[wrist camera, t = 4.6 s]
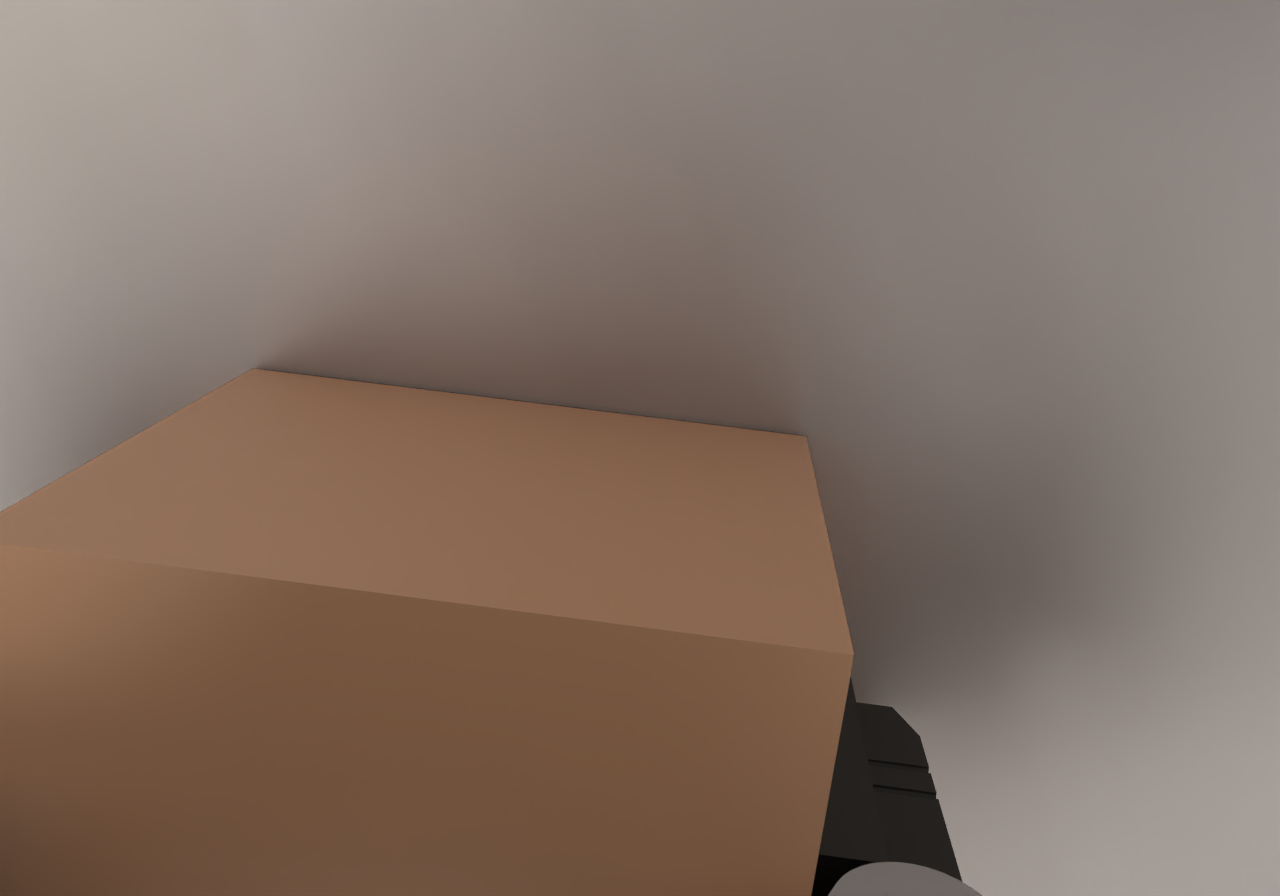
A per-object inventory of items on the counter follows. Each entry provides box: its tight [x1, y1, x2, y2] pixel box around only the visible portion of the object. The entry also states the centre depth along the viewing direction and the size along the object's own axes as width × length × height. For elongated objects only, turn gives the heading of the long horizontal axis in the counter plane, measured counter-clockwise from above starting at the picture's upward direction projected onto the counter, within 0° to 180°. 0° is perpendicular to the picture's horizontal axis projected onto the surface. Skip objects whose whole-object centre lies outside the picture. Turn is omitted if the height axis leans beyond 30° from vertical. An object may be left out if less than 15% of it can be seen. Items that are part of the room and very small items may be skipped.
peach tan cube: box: [0, 369, 854, 896], centre depth 11 cm, size 6×6×5 cm
